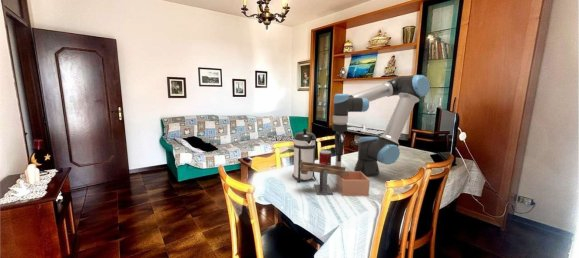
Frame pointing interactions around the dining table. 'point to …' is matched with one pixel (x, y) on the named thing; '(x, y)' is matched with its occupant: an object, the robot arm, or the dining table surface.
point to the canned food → (325, 157)
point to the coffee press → (304, 153)
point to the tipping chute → (322, 168)
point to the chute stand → (323, 185)
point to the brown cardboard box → (353, 184)
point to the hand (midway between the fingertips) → (338, 166)
